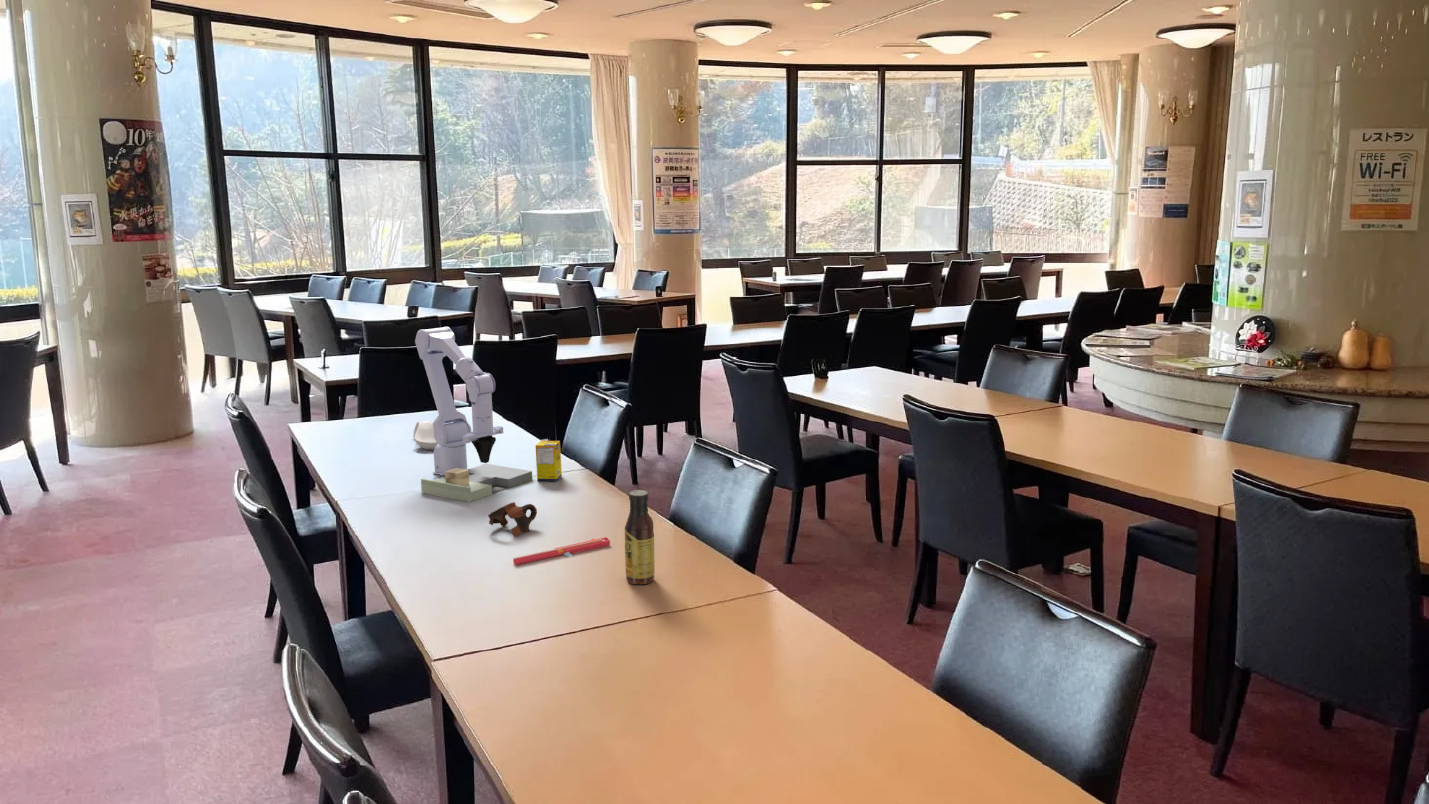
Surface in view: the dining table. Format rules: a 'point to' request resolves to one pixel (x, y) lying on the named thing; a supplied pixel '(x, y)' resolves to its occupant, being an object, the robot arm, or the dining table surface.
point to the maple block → (457, 476)
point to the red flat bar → (563, 551)
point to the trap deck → (478, 482)
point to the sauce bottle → (639, 540)
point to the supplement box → (548, 461)
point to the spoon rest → (425, 435)
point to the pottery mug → (514, 517)
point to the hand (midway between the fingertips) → (484, 462)
